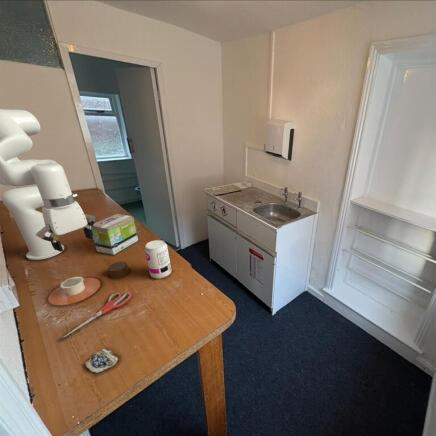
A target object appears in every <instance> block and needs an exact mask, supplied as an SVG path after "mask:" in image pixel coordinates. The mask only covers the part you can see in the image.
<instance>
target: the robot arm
mask: <svg viewBox="0 0 436 436" xmlns="http://www.w3.org/2000/svg"><path fill="white" fill-rule="evenodd" d="M40 132H41V124H40V121H39V120H38V118H37V117H36V116H35V115H34V114H33V113H31V112H29V111H28V110H24V109H11V108H10V109H9V108H7V109H6V108H0V185H3V186H12V187H16V188H12V189H8V190H6V191H3V192H2V193H1V195H0V199H1V202H2V204H3V205H4V206H5V208H6V209H7V210H8V212H9V214H10V215H11V216H12V218H13V220H14V222H15V224H16V226H17V228H18V230H19V232H20V234H21V237H22V238H23V240H24V243H25V245H26V247H27V250H28V252H27V253H26V254H25V256H26V258H27V260H31V261H40V260H41V261H42V260H46V259H49V258H53V257H55V256H57V255H59V254H61V253H62V252H63V251H65V246H64V244H62V243H61V241H60V240H59V239H60V237H61V236H63V235H66V234H69V233H72V232H74V231H77V230H80V229H82V228H83V233H84V236H85V238H86V239H88V240H94V239H93V233H92V230H91V229H92V226H93V225H94V223H96V222H95V221H96V217H97V215H93V214H85V213H84V211H83V209H82V207H81V206H80V203H79V202H78V201H77V200H76V198H78V194H77V193H73V192H72V188H71V187H70V183H69V180H68V177H67V174H66V171H65V168H64V167H63V166H62V165H61V164H59V163H58V162H57V161H55V160H53V159H50V158H49V159H36V158H31V159H20V158H19V156H22V155H25V154H26V153H28V152H29V151H30V150H31V149H32V148H33V145H34V143H33V140H32V139H31V137H32V136H35V135H38V134H39V133H40ZM40 208H41V211H39V210H37V209H40ZM87 219H88V220H87Z"/></svg>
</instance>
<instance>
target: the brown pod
mask: <svg viewBox="0 0 436 436" xmlns="http://www.w3.org/2000/svg"><path fill="white" fill-rule="evenodd" d="M107 271H108V274H109V277H110V278H112V279H118V278H122V277H124V276H126V275H128V274H129V266H128V263H127V262H126V261H116V262H114V263H111V264H110V265H109V266H108V267H107Z"/></svg>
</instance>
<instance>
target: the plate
mask: <svg viewBox="0 0 436 436" xmlns="http://www.w3.org/2000/svg"><path fill="white" fill-rule="evenodd" d="M82 278H83V283H84V286H85V289H84V290H83V291H82V292H80V293H78V294H76V295H71V296H69V295H66V293H65V291H64V289H63V288H61V285H60V286H58V287H56V288H55V289H54V290H52V292H51V293H50V294H49V296H48V298H47V299H48V303H49V304H51V305H54V306H67V305H72V304H75V303H78V302H80V301H82V300H83V301H84V300H86V299H87V298H89V297H90V296H92V295H94V293H96V292H97V291H98V289H99V288H100V286H101V281H100V280H99V279H97V278H95V277H82Z"/></svg>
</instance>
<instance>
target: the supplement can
mask: <svg viewBox="0 0 436 436" xmlns="http://www.w3.org/2000/svg"><path fill="white" fill-rule="evenodd" d="M144 254H145V258H146V262H147V267H148V272H149V275H150V277H151V278H153V279H155V280H159V279H163V278H166V277H168V276H169V275H170V274H171V273H172V266H171V265H172V264H171V260H170V253H169V248H168V244H167V243H166V242H165V240H162V239H155V240H151V241H149V242H147V243H146V244H145V247H144Z"/></svg>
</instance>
